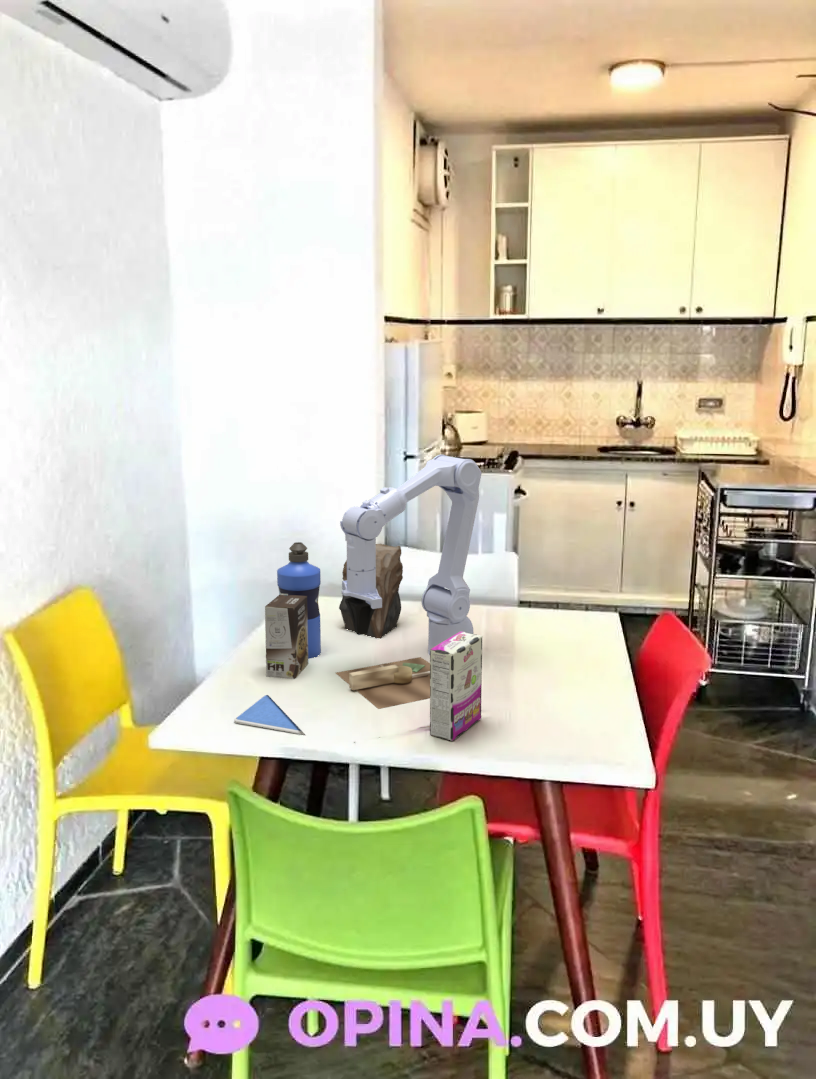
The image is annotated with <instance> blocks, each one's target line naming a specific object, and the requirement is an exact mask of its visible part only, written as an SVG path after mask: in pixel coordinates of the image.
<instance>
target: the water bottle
mask: <svg viewBox="0 0 816 1079" xmlns="http://www.w3.org/2000/svg"><path fill="white" fill-rule="evenodd" d="M288 549H289V550H290V551H289V552H288V563H287V564H285V565H283V566H280V567H279V568H277V570H276V576H277V577H276V578H277V581H276V582H277V587H278V593H279V594H278V595H298V596H307V618H308V660H310V659H315V658H318V657H319V656H320V655H321V654H320V653H322V649H321V648H322V647H321V644H322V641H321V638H322V636H321V633H322V632H321V631H322V630H321V629H322V628H321V613H320V608H319V607H320V606H319V596H320V586H321V584H322V583H321V568H320V567H318V566H316V565H314V564H311V563H309V552H308V551H307V550H308V547H307V546H306V545H305V543H303V542H301V541H296V542H293V543H292V545H291V546H290V547H289V548H288ZM318 655H319V656H318ZM314 657H315V658H314Z"/></svg>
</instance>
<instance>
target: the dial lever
mask: <svg viewBox="0 0 816 1079" xmlns="http://www.w3.org/2000/svg"><path fill="white" fill-rule="evenodd" d="M428 674H430V671H428V672H423V673H417V674H412V668H410V667H407V666H396V665H390V666H385V667H379V668H374V669H368V670H363V671H358V672H352V673H349V684H348V686H349V688H350V690H352V691H356V690H357V689H362V688H367V687H373V686H378V685H383V684H388V683H393V682H394V683H408V682H410V681H412V678H413V677H418V676H423V675H428Z"/></svg>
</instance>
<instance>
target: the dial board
mask: <svg viewBox="0 0 816 1079" xmlns="http://www.w3.org/2000/svg"><path fill="white" fill-rule="evenodd" d="M390 665H396V666H407V667H410V668H412V674H417V673H423V672H428V671H430V661H427V660H426V659H425V658H423V657H422V656H420V657H413V658H409V659H402V660H397V661H393V662H386V663H382V664H375V665H370V666H369V665H368V666H365V667H360V668H353V669H348V670H343V671H338V672H335V675H337V676H338V677H340V678H341V679H342V680H343V681H344V682H345V683H346V684H348V685H349V673H352V672H358V671H363V670H368V669H374V668H379V667H385V666H390ZM355 691H356V692H357V693H358V694H360V695H361V696H362V697H363V698H364V699H366V700H367V702H369V703H371V705H373V706H374V707H375V708H377V710H380V709H386V708H390V707H395V706H400V705H404V704H410V703H414V702H418V701H424V700H428V699H429V700H430V674H428V675H423V676H418V677H413V678H412V681H410V682H408V683H394V682H393V683H388V684H383V685H378V686H373V687H367V688H362V689H357V690H355Z"/></svg>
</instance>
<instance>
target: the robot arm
mask: <svg viewBox="0 0 816 1079" xmlns="http://www.w3.org/2000/svg"><path fill="white" fill-rule="evenodd" d="M482 473H483V472H482V471H481V469H480V468H479V466H478V464H477V463H476V461H474V460H473V459H471V458H461V457H454V456H448V455H446V454H438V455H436V456H435V457H433V458H432V459H429V460H427V461H426V464H425V466H424V467H423V468H422V469H420V470H419V471H417V472H416V473H415V474H413V476H411V477H410V478H408V479H407V480H406V481H405V482H403V483H402V484H401V485H399V486H398V487H396V488H395V487H392V486H391V487H390V486H389V487H385V486H383V487H382V488H380V489H379V491H380V492H379V493H378V494H376V495H375V496H373V497H371V498H370V499H369V500H367V499H366V500H364V501H363V502H362V504H361V505H360V506H351V507H349V508H348V509H347V510H346V511H345V512H344V514H343V515H342V516H343V517H342V518H341V520H340V521H339V524H340V525H339V526H340V529H341V530H342V532H343V534H344V537H345V538H344V539H345V542H346V560H347V580H346V581H343V580H342V581H341V596H342V595H344V596H351V598H347V599H345V603H346V605H347V607H348V609H349V611H350V614H351V617H352V621H353V625H354V629H355V632H356V633H355V632H354V633H355V634H356V635H358V636H360V635H361V636H362V635H363V634H367V633H368V629H369V625H370V621H371V618H372V615H373V613H374V611H375V609H376V608H382V598H381V597H380V596H379V594H378V591H377V589H376V544H377V538H378V537H379V535H380V534H381V531H382V529H383V528H384V526H386V524H388V523H389V522H390V521H392V520H393V519H395V518H396V517H397V516H400V515H401V514H402V513H404V512H405V510H406V507H407V503H408V502H410V501H411V500H413V499H415V498H417V497H418V496H421V495H422V494H424V493H425V492H427V491H429V490H430V489H432V488H434V487H439V488H440V489H442V490H443V491H444V492H445V493H446V495H447V496H448V498H449V499H450V501H451V506H450V511H449V516H448V522H447V526H446V532H445V537H444V541H443V547H442V551H441V556H440V559H439V560H440V562H439V564H438V565H439V566H438V571H437V573H436V574H434V575H432V576H431V577H429V579H428V582H427V586H426V588H425V590H424V591H423V593H422V596H421V607H422V608H423V610H424V611H425V612H426V617H427V618H428V631H427V632H428V636H427V637H428V639H427V644H428V645H427V648H428V649H427V653H428V655H429V656H430V649H431V648H433V647H435V646H437V645H438V644H440V643H442V642H443V641H445V640H447V639H448V638H450V637H452V636H453V635H455V634H457V633H458V632H467V633H472V634H474V626H473V623H472V620H471V618H470V617H468V614H469V613H470V608H471V603H470V602H471V601H470V592H471V589H470V587H469V585H468V584H467V582H466V580H465V579H464V574H465V570H466V563H467V559H468V554H469V549H470V545H471V540H472V534H473V529H474V524H475V519H476V516H477V510H478V506H479V502H480V488H479V487H480V483H481V479H482Z"/></svg>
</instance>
